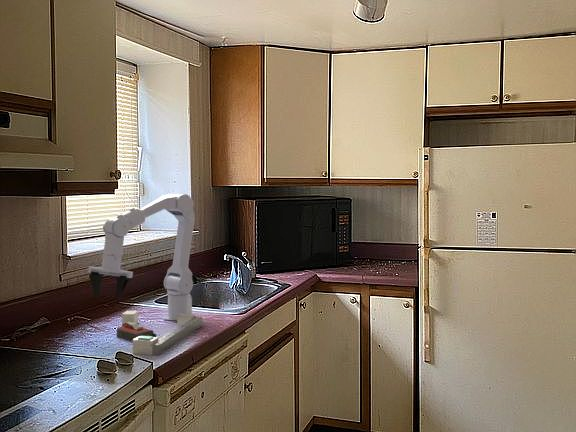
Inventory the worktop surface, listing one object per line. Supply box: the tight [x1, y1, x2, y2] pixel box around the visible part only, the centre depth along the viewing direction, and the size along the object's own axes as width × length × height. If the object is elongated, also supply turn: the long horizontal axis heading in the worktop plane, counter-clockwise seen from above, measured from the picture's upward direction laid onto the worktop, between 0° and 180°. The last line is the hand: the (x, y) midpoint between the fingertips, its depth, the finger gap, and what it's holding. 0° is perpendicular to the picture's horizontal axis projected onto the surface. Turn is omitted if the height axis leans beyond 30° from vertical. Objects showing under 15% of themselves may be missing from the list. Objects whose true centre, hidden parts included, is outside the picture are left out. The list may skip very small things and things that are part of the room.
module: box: [121, 310, 139, 325], centre depth 208 cm, size 5×4×4 cm
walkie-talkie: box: [116, 322, 158, 342], centre depth 194 cm, size 9×4×20 cm
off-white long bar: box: [132, 313, 203, 356], centre depth 190 cm, size 35×8×4 cm, turn 168°
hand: (107, 297), depth 195 cm, fingers open, 7 cm apart
